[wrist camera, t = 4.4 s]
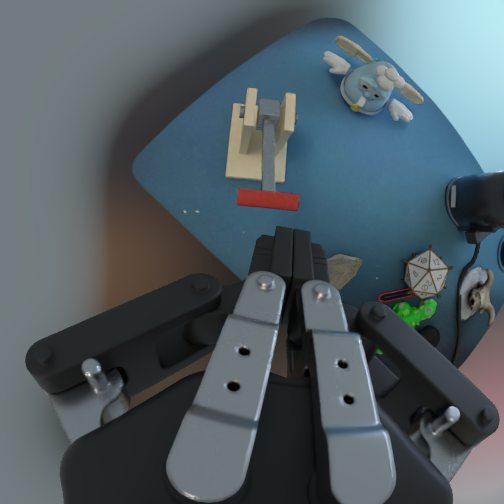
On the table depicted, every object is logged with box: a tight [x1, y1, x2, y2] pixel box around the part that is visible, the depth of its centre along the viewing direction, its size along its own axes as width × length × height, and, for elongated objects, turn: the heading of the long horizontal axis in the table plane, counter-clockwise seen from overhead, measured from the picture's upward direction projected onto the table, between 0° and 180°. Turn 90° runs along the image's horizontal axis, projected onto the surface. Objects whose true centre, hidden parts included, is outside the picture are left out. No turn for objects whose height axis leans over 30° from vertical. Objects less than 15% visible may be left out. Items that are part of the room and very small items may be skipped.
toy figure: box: [323, 36, 424, 123], centre depth 32 cm, size 17×10×15 cm, turn 57°
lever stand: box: [226, 88, 297, 183], centre depth 32 cm, size 11×8×13 cm
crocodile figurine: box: [376, 299, 437, 354], centre depth 41 cm, size 7×18×4 cm, turn 114°
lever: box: [237, 98, 299, 211], centre depth 26 cm, size 13×5×2 cm, turn 175°
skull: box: [458, 266, 495, 326], centre depth 42 cm, size 10×12×6 cm
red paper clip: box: [378, 288, 416, 303], centre depth 43 cm, size 2×14×1 cm, turn 97°
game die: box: [400, 244, 454, 303], centre depth 39 cm, size 9×8×10 cm
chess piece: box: [420, 326, 440, 348], centre depth 40 cm, size 4×4×10 cm
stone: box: [327, 254, 362, 290], centre depth 41 cm, size 13×3×5 cm
